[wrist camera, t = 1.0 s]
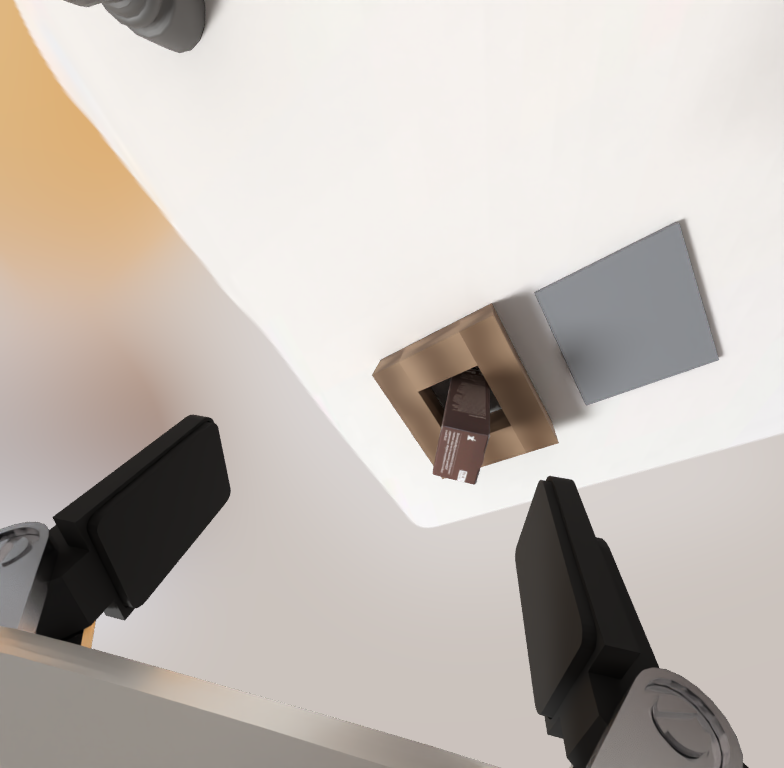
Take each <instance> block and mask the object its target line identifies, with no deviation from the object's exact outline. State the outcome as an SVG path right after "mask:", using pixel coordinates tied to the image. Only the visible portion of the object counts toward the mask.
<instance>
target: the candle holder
mask: <svg viewBox="0 0 784 768" xmlns="http://www.w3.org/2000/svg"><path fill="white" fill-rule="evenodd" d="M64 1H67V2H70V3H73V4H76V5H79V6H84V7H90V6H93V5H96V4H99V3H102V4H103V6H104V7H105V9H106V10H107V11H108V12H109V13H110V14H111V15H112V16H113V17H114V18H115V19H117V20H118V21H119V22H120V23H121V24H124V25H127V26H128V27H129V28H130V29H131V30H132V31H133V32H134V33H135V34H137V35H138V36H141V37H143V38H145V39H147V40H149V41H151V42H154V43H156V44H158V45H160V46H162V47H164V48H167V49H169V50H172V51H175V52H178V53H181V52H185V51H189V50H192V48H193V47H194V46H195V45H196V44H197V43H198V42H199V41H200V38H201V35H202V32H203V29H204V26H205V4H204V0H64Z"/></svg>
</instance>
